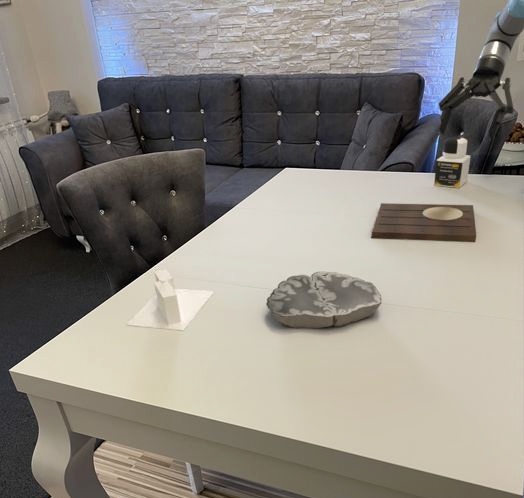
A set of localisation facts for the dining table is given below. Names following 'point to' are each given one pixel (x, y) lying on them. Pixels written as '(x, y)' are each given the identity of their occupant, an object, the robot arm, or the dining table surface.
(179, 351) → the dining table surface
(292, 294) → the brain slice
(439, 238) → the board
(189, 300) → the napkin holder
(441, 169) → the medicine bottle
